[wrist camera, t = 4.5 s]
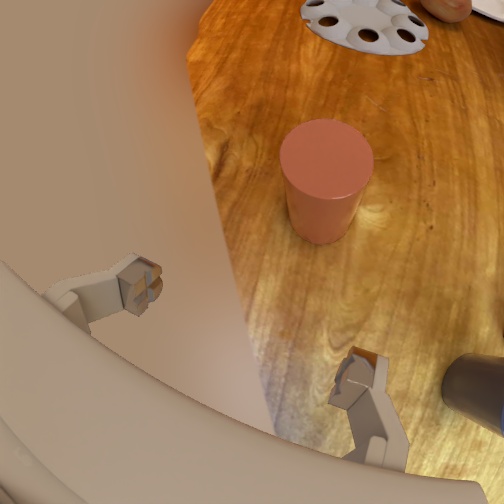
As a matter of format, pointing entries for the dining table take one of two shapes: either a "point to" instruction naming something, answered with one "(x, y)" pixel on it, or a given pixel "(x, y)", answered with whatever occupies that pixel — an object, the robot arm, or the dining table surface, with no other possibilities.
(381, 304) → the dining table surface
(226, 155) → the dining table surface
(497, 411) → the slate-blue canister
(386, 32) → the grey disc with holes
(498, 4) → the plate
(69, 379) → the robot arm
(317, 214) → the terracotta canister
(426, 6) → the onion
